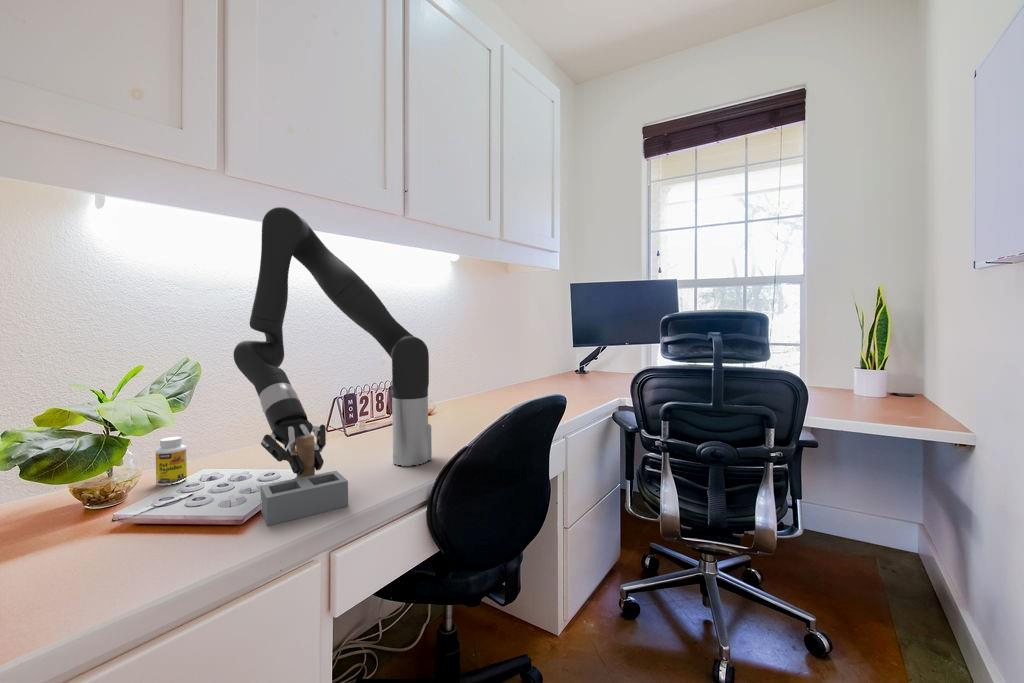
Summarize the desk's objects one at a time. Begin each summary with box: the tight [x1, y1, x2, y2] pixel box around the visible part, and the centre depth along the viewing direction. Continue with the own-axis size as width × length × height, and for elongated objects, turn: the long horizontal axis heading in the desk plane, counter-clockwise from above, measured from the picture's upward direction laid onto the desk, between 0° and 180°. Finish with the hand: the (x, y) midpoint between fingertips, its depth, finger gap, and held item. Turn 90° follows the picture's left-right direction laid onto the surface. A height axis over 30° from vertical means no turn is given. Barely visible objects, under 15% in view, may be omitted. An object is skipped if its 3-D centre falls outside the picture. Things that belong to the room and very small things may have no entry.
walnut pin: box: [295, 434, 316, 478], centre depth 91 cm, size 4×4×12 cm
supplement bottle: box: [155, 436, 188, 486], centre depth 98 cm, size 6×6×10 cm
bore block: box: [260, 470, 349, 527], centre depth 83 cm, size 14×8×5 cm, turn 128°
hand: (310, 470), depth 90 cm, fingers closed on walnut pin, 3 cm apart
